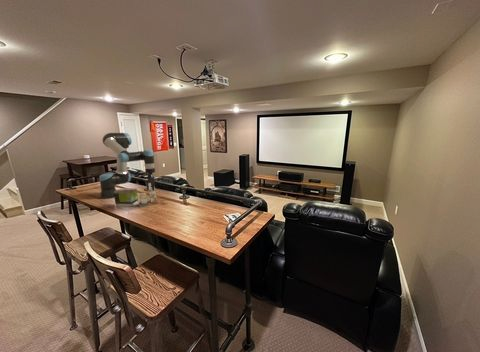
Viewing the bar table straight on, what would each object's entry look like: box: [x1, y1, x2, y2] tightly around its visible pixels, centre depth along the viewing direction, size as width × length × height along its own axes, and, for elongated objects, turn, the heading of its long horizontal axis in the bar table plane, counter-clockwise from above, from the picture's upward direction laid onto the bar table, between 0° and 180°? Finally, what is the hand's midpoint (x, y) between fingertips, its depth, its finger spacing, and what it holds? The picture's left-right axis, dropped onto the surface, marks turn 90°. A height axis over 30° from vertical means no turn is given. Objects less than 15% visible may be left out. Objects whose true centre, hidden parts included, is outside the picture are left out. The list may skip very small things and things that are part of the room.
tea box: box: [113, 187, 139, 208], centre depth 168 cm, size 15×10×15 cm, turn 84°
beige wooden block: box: [149, 191, 157, 203], centre depth 170 cm, size 4×4×10 cm
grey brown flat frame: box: [138, 199, 160, 208], centre depth 169 cm, size 9×15×3 cm, turn 123°
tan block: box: [139, 192, 148, 205], centre depth 166 cm, size 4×4×10 cm
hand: (152, 191), depth 169 cm, fingers open, 13 cm apart
